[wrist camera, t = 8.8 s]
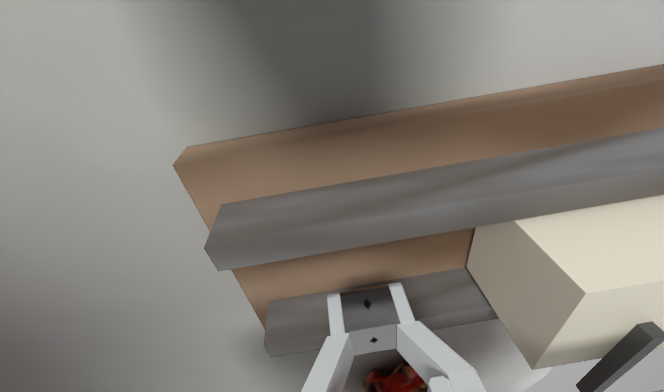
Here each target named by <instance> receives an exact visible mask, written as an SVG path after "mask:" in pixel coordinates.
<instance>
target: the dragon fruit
mask: <svg viewBox="0 0 664 392" xmlns="http://www.w3.org/2000/svg"><path fill="white" fill-rule="evenodd" d="M363 387H364V388H365V392H427V390H428V385H427V384H426V383H425V382H424V380H423V379H422V378H421V377H420V376H419V375H418V374H417V372H416V371H415V370H414V369H413V368H412V367H411V365H410V364H409V363H408V362H403V363H401V364H400V365H399V366H398V367H396V368H395V370H394V371H393V373H392V374H390V375H389V376H387V377H386V378H385V377H383V376H381V375H380V373H379V372H377V371H376V370H372V371H371V372H370V373H369V375H368V376H367V377H366V378H365V380H364V381H363Z"/></svg>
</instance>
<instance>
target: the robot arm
mask: <svg viewBox="0 0 664 392" xmlns="http://www.w3.org/2000/svg"><path fill="white" fill-rule="evenodd" d="M327 303H328V314H329V325H330V335H331V336H327V337H326V339H325V342H324V344H323V346H322V348H321V350H320V352H319V354H318V356H317V359H316V361H315V363H314V365H313V367H312V369H311V371H310V373H309V376H308V378H307V380H306V382H305V384H304V386H303V388H302V390H301V392H343V390H344V387H345V384H346V381H347V378H348V375H349V372H350V369H351V366H352V363H353V360H354V356H356V355H360V354H365V353H370V352H376V351H383V350H390V349H397V351H398V352H399V353H400V354H401V355H402V356H403V357H404V359H405V360H406V361H407V362H408V363H409V364H410V365H411V367H412V368H413V369H414V370H415V371H416V372H417V374H418V375H419V376H420V377H421V378H422V379H423V380H424V382H425V383H426V384H427V385H428V390H427V392H486V391H485V389H484V387H483V385H482V383H481V381H480V378H479V376H478V374H477V372H476V370H475V369H474V368H473V367H472V366H471V365H470V364H468V363H467V362H466V361H465V360H464V359H463V358H461V357H460V356H459V355H458V354H457V353H456V352H455V351H453V350H452V349H451V348H450V347H449V346H448V345H447V344H445V343H444V342H443V341H442V340H441V339H440V338H439V337H437V336H436V335H435V334H434V333H433V332H432V331H431V330H429V329H428V328H427V327H426V326H425V325H424V324H422V323H421V322H420V321H415V319H414V316H413V313H412V311H411V308H410V305H409V303H408V300H407V297H406V294H405V292H404V289H403V286H402V284H401V283H400V282H397V283H392V284H384V285H379V286H374V287H369V288H364V289H359V290H353V291H347V292H341V293H340V292H339V293H334V294H328V295H327ZM655 392H664V390H661V391H655Z"/></svg>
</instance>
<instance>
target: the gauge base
mask: <svg viewBox="0 0 664 392" xmlns="http://www.w3.org/2000/svg"><path fill="white" fill-rule="evenodd" d="M173 167H174V169H175V170H176V172H177V174H178V176H179V178H180V179H181V181H182V183H183V185H184V186H185V188H186V190H187V192H188V194H189V195H190V197H191V199H192V201H193V202H194V204H195V206H196V208H197V209H198V211H199V213H200V215H201V217H202V218H203V220H204V222H205V224H206V225H207V227H208V229H209V231H210V234H209V237H208V239H207V242H206V244H205V247H204V249H205V251H206V252H207V254H208V255H209V257H210V259H211V260H212V262H213V264H214V265H215V267H216V269H217V270H218V271H223V270H229V269H231V270H232V272H233V273H234V275H235V277H236V279H237V281H238V282H239V284H240V286H241V288H242V289H243V291H244V293H245V295H246V297H247V298H248V300H249V302H250V304H251V305H252V307H253V309H254V311H255V313H256V314H257V316H258V318H259V320H260V321H261V323H262V325H263V327H264V329H265V330H266V331H265V340H264V347H265V349H266V350H267V352H268V354H269V355H270V357H276V356H281V355H287V354H293V353H299V352H305V351H311V350H316V349H321V348H322V346H323V344H324V342H325V339H326V337H327V336H331V335H330V325H329V314H328V303H327V295H328V294H334V293H339V292H340V293H341V292H347V291H353V290H359V289H364V288H369V287H374V286H379V285H384V284H392V283H397V282H400V283H401V284H402V286H403V289H404V292H405V294H406V297H407V300H408V303H409V305H410V308H411V311H412V313H413V316H414V319H415V321H420V322H421V323H422V324H424V325H425V326H426V327H427V328H428V329H429V330H433V329H439V328H445V327H451V326H457V325H463V324H468V323H474V322H480V321H486V320H492V319H498V318H499V317H498V316H497V314H496V312H495V311H494V309H493V308H492V306H491V305H490V303H489V301H488V300H487V298H486V297H485V295H484V294H483V292H482V290H481V289H480V287H479V286H478V284H477V283H476V281H475V279H474V278H473V276H472V275H471V273H470V272H469V270H468V269H467V267H466V266H467V262H468V258H469V254H470V250H471V245H472V241H473V237H474V233H475V229H476V227H479V226H484V225H490V224H496V223H502V222H508V221H513V220H519V219H525V218H531V217H537V216H542V215H548V214H554V213H560V212H566V211H571V210H577V209H583V208H589V207H595V206H600V205H606V204H612V203H618V202H624V201H629V200H635V199H641V198H647V197H653V196H658V195H664V64H662V65H656V66H651V67H645V68H639V69H633V70H628V71H622V72H616V73H610V74H605V75H599V76H593V77H587V78H582V79H576V80H570V81H564V82H559V83H553V84H547V85H541V86H536V87H530V88H524V89H518V90H513V91H507V92H501V93H495V94H490V95H484V96H478V97H472V98H467V99H461V100H455V101H449V102H444V103H438V104H432V105H426V106H421V107H415V108H409V109H403V110H398V111H392V112H386V113H380V114H375V115H369V116H363V117H357V118H352V119H346V120H340V121H334V122H329V123H323V124H317V125H311V126H306V127H300V128H294V129H288V130H283V131H277V132H271V133H265V134H260V135H254V136H248V137H242V138H237V139H231V140H225V141H219V142H214V143H208V144H202V145H196V146H191V147H187V148H186V149H185V150H184V151H183V153H182V154H181V155H180V156H179V158H178V159H177V160H176V161H175V163H174V164H173Z"/></svg>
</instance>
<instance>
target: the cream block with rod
mask: <svg viewBox="0 0 664 392" xmlns="http://www.w3.org/2000/svg"><path fill="white" fill-rule="evenodd" d="M466 267H467V269H468V270H469V272H470V273H471V275H472V276H473V278H474V279H475V281H476V283H477V284H478V286H479V287H480V289H481V290H482V292H483V294H484V295H485V297H486V298H487V300H488V301H489V303H490V305H491V306H492V308H493V309H494V311H495V312H496V314H497V316H498V317H499V319H500V320H501V322H502V323H503V325H504V327H505V328H506V330H507V331H508V333H509V334H510V336H511V338H512V339H513V341H514V342H515V344H516V345H517V347H518V348H519V350H520V352H521V353H522V355H523V356H524V358H525V359H526V361H527V363H528V364H529V366H530V367H531V369H532V370H534V369H540V368H546V367H552V366H557V365H563V364H569V363H575V362H581V361H587V360H593V359H599V358H602V359H601V360H600V361H599V362H598V363H597V364H596V365H595V366H594V367H593V368H592V369H591V370H590V371H589V372H588V373H587V374H586V375H585V376H584V377H583V378H582V379H581V380H580V381H579V382H578V383H577V384H576V386H577V388H578V389H579V391H580V392H603V391H604V390H605V389H607V388H608V387H609V386H610V385H611V384H613V383H614V382H615V381H616V380H617V379H619V378H620V377H621V376H622V375H623V374H624V373H626V372H627V371H628V370H630V369H631V368H632V367H633V366H634V365H636V364H637V363H638V362H639V361H640V360H642V359H643V358H644V357H645V356H646V355H648V354H649V353H650V352H651V351H652V350H653V349H658V348H663V347H664V195H658V196H653V197H647V198H641V199H635V200H629V201H624V202H618V203H612V204H606V205H600V206H595V207H589V208H583V209H577V210H571V211H566V212H560V213H554V214H548V215H542V216H537V217H531V218H525V219H519V220H513V221H508V222H502V223H496V224H490V225H484V226H479V227H476V229H475V233H474V237H473V241H472V245H471V250H470V254H469V258H468V262H467V266H466Z"/></svg>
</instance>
